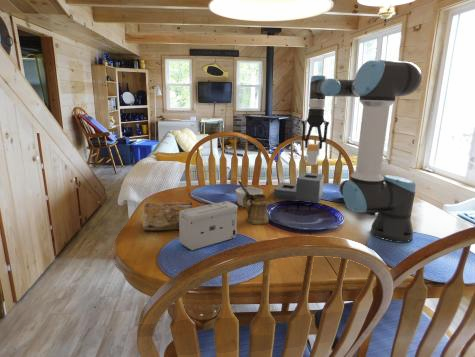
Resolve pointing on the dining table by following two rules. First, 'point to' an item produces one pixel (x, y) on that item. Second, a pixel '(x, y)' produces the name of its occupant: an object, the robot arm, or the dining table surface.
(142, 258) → the dining table surface
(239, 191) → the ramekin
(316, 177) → the dock
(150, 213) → the petrified wood
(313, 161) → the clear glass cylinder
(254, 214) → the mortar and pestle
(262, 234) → the dining table surface
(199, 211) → the stereo radio cassette player
